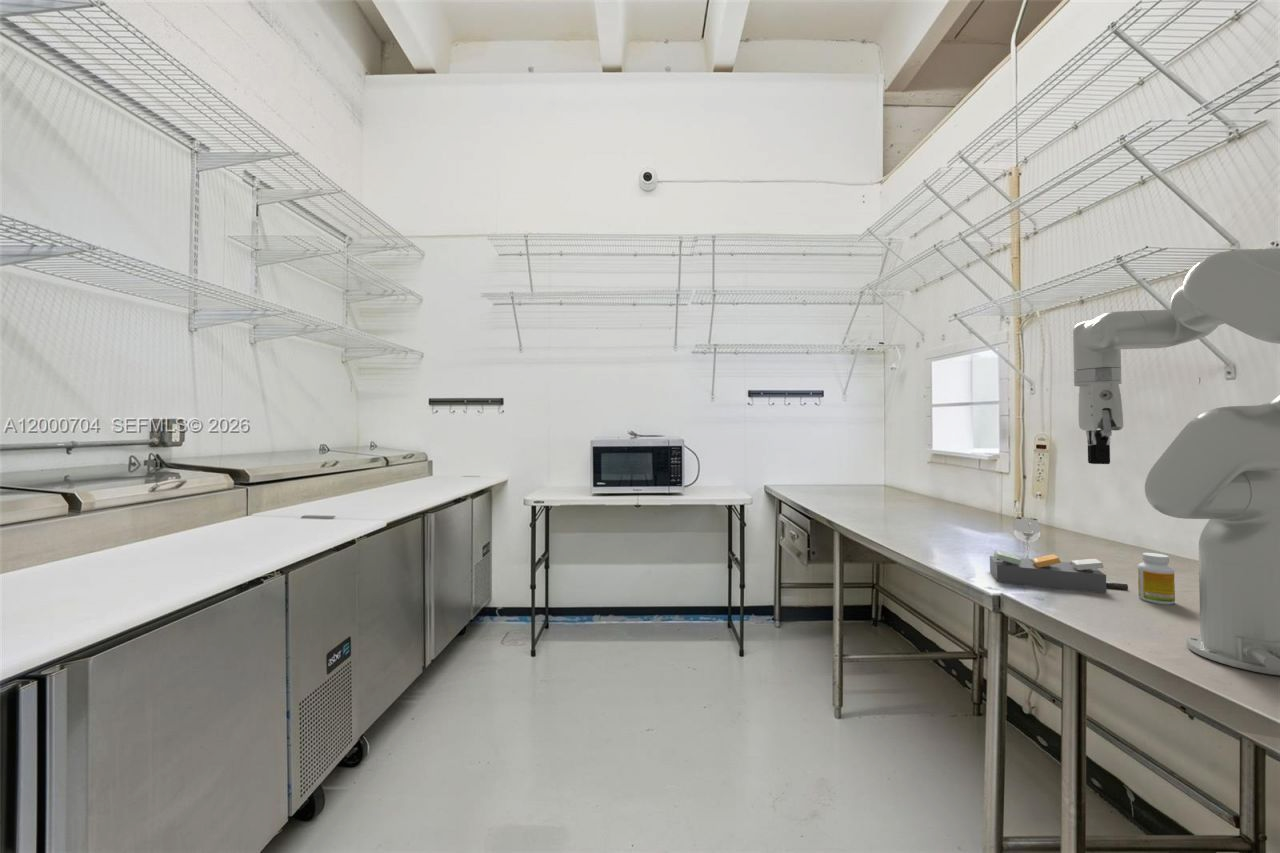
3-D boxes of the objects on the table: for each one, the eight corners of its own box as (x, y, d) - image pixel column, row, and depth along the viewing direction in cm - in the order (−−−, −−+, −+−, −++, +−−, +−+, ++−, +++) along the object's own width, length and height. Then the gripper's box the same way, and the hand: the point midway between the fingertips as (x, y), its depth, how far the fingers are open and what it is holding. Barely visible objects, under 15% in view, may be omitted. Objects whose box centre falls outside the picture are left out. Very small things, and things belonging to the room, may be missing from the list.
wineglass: (1017, 558, 141) (1016, 516, 141) (1043, 562, 137) (1042, 518, 137) (1011, 562, 138) (1010, 518, 138) (1037, 566, 133) (1036, 521, 133)
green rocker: (1019, 564, 119) (1021, 559, 119) (996, 558, 121) (997, 553, 121) (1016, 560, 123) (1017, 555, 123) (993, 555, 125) (994, 550, 125)
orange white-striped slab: (1061, 562, 116) (1058, 557, 116) (1037, 567, 118) (1035, 562, 118) (1055, 558, 119) (1053, 553, 120) (1033, 563, 121) (1031, 558, 122)
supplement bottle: (1182, 605, 103) (1181, 558, 103) (1151, 604, 104) (1150, 557, 104) (1161, 597, 108) (1160, 552, 108) (1131, 595, 109) (1130, 551, 110)
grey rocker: (1103, 568, 112) (1101, 562, 113) (1077, 570, 114) (1076, 564, 115) (1097, 563, 116) (1095, 558, 116) (1072, 565, 118) (1070, 560, 118)
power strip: (1136, 596, 109) (1136, 575, 109) (997, 581, 120) (996, 563, 120) (1118, 583, 118) (1117, 564, 118) (990, 571, 129) (989, 554, 129)
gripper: (1135, 373, 99) (1137, 466, 99) (1106, 380, 113) (1108, 461, 112) (1086, 376, 103) (1088, 465, 103) (1064, 382, 116) (1065, 461, 116)
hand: (1098, 463), depth 107 cm, fingers closed
